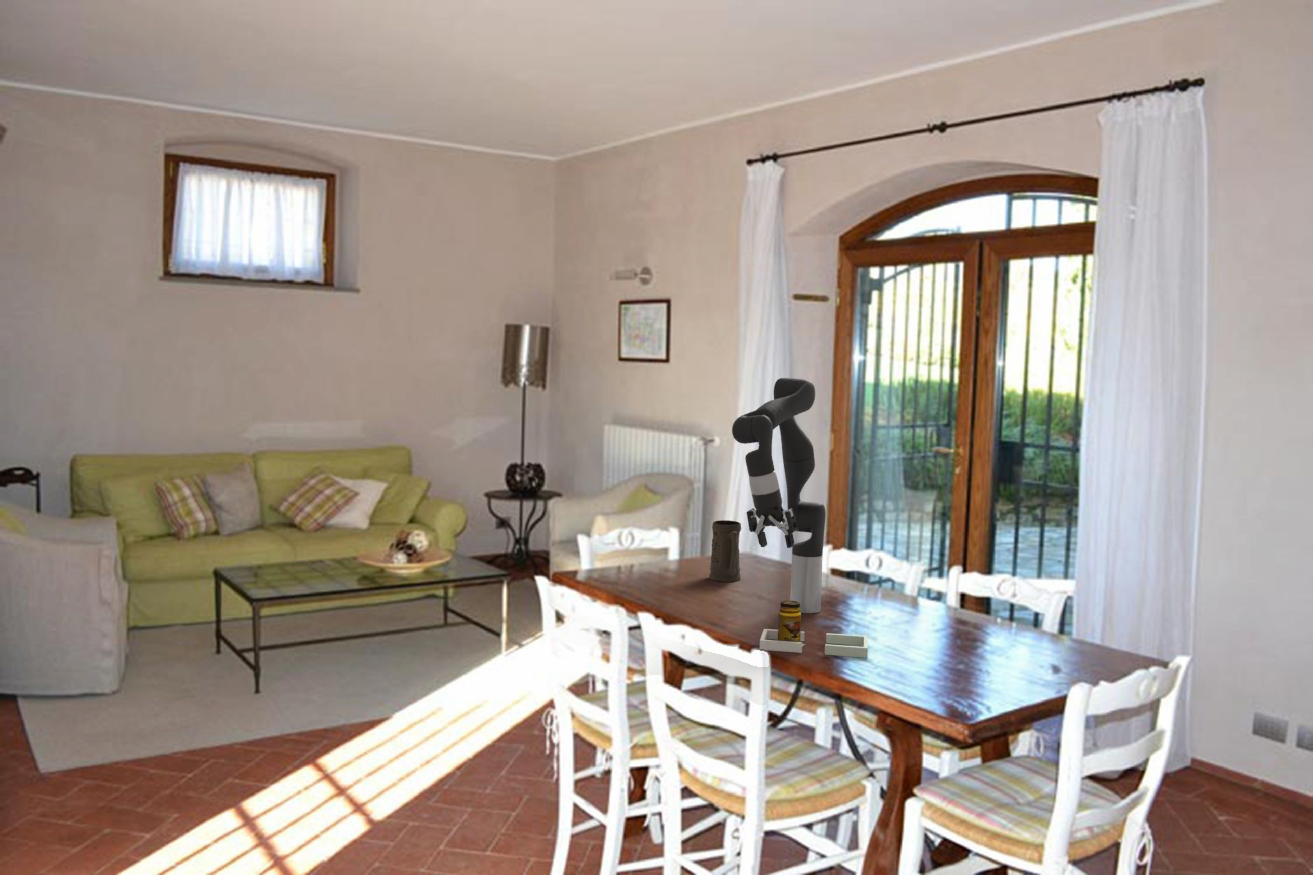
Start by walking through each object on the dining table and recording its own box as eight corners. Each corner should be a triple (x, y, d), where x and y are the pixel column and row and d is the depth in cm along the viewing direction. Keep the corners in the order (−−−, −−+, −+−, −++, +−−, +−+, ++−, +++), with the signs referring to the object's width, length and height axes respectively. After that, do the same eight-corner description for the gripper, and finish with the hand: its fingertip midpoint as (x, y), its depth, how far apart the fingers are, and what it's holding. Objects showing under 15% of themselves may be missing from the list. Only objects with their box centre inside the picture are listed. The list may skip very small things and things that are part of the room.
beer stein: (702, 575, 386) (706, 519, 383) (730, 573, 391) (733, 518, 388) (723, 588, 373) (727, 529, 370) (751, 585, 377) (755, 528, 374)
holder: (763, 637, 306) (764, 628, 306) (803, 640, 304) (804, 631, 304) (759, 649, 294) (759, 640, 294) (801, 652, 292) (801, 643, 292)
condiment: (795, 651, 294) (797, 606, 293) (765, 646, 298) (767, 601, 297) (805, 645, 300) (807, 601, 299) (776, 640, 304) (778, 596, 303)
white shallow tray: (826, 642, 303) (826, 633, 303) (867, 645, 301) (867, 636, 301) (824, 654, 291) (825, 645, 291) (867, 657, 289) (867, 648, 289)
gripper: (795, 484, 292) (807, 542, 295) (751, 484, 301) (763, 540, 305) (779, 493, 287) (791, 552, 290) (735, 493, 296) (747, 550, 299)
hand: (777, 546), depth 297 cm, fingers open, 8 cm apart
